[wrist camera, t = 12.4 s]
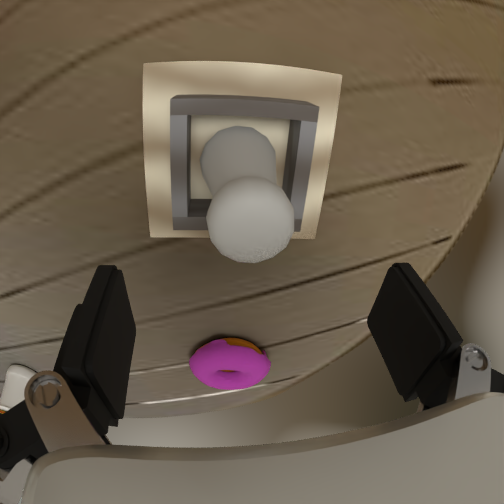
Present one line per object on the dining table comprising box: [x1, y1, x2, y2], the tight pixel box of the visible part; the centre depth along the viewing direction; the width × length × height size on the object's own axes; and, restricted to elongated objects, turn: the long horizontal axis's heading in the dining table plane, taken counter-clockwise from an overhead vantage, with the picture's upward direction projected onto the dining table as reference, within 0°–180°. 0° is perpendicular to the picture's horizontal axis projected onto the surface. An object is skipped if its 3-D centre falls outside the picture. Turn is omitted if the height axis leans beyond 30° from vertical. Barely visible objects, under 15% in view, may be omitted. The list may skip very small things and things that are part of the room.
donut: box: [189, 338, 271, 390], centre depth 40 cm, size 10×10×4 cm
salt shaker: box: [200, 126, 294, 263], centre depth 19 cm, size 6×6×13 cm
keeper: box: [143, 61, 342, 239], centre depth 24 cm, size 16×16×5 cm
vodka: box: [0, 365, 36, 415], centre depth 31 cm, size 9×9×30 cm
